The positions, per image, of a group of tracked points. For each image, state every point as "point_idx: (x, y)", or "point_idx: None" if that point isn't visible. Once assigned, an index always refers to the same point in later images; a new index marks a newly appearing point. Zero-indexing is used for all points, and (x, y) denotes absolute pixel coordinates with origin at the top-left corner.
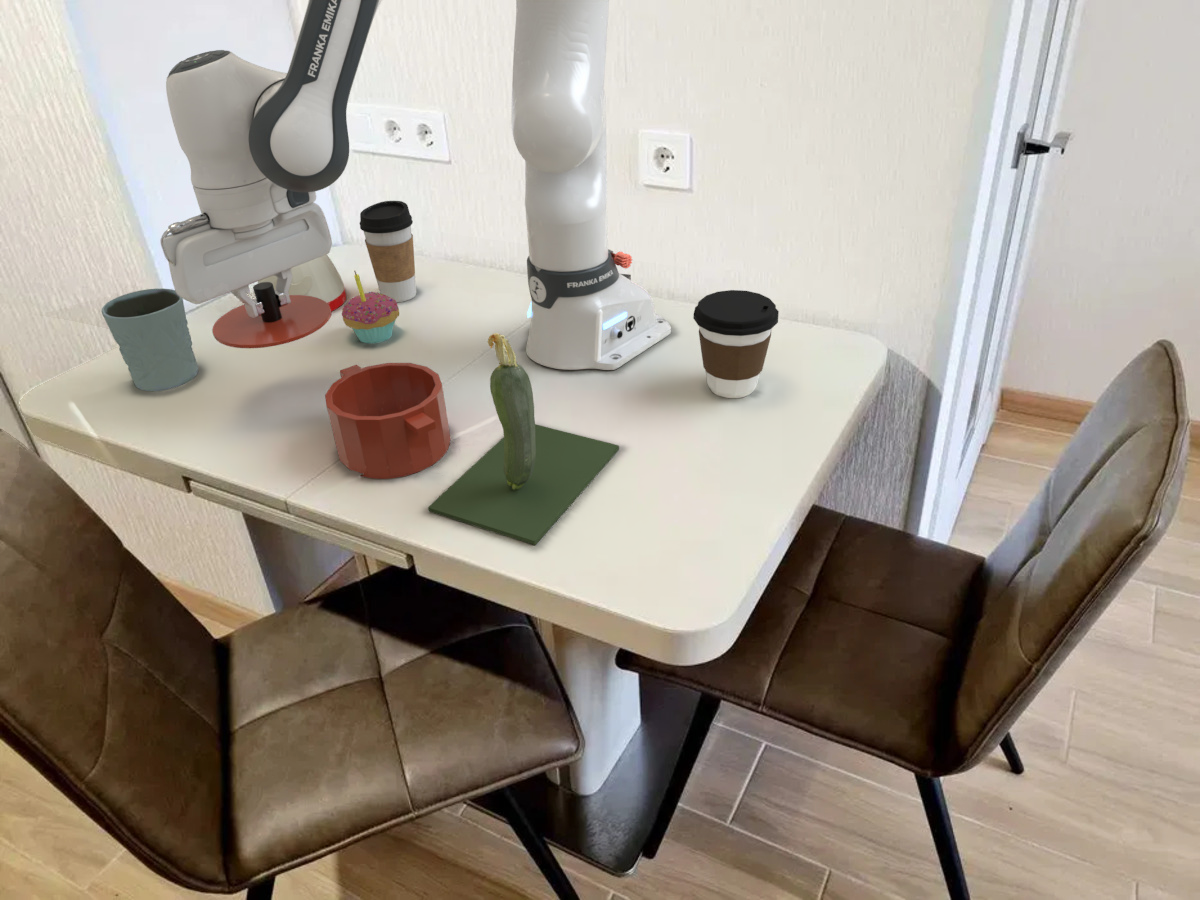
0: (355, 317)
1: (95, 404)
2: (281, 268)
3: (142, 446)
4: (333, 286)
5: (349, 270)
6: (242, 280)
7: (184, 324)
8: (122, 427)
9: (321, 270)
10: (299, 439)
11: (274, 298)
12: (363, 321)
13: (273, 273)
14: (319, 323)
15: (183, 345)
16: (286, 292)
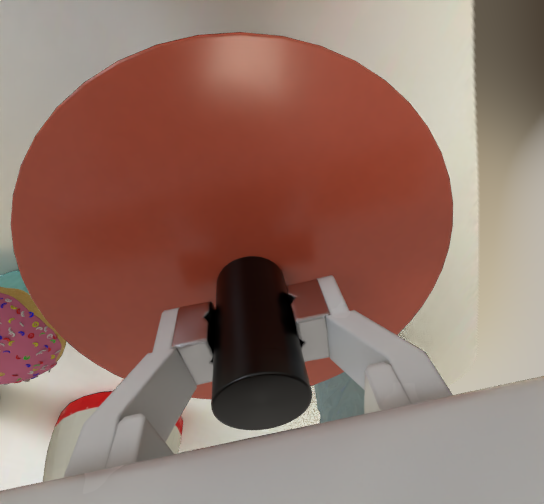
0: (29, 321)
1: (434, 337)
2: (118, 493)
3: (473, 208)
4: (63, 435)
5: (41, 464)
6: (477, 445)
7: (334, 410)
8: (452, 272)
9: (64, 469)
10: (294, 12)
11: (231, 325)
12: (15, 304)
13: (196, 461)
14: (86, 96)
15: (343, 374)
16: (161, 347)
